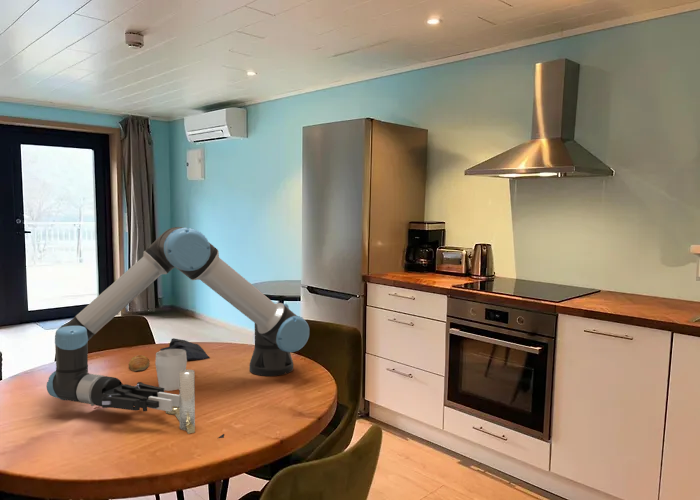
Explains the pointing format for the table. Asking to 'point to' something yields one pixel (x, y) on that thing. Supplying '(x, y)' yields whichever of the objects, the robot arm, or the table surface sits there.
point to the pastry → (139, 363)
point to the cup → (170, 367)
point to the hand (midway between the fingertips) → (175, 403)
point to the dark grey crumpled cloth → (188, 349)
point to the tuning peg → (186, 401)
